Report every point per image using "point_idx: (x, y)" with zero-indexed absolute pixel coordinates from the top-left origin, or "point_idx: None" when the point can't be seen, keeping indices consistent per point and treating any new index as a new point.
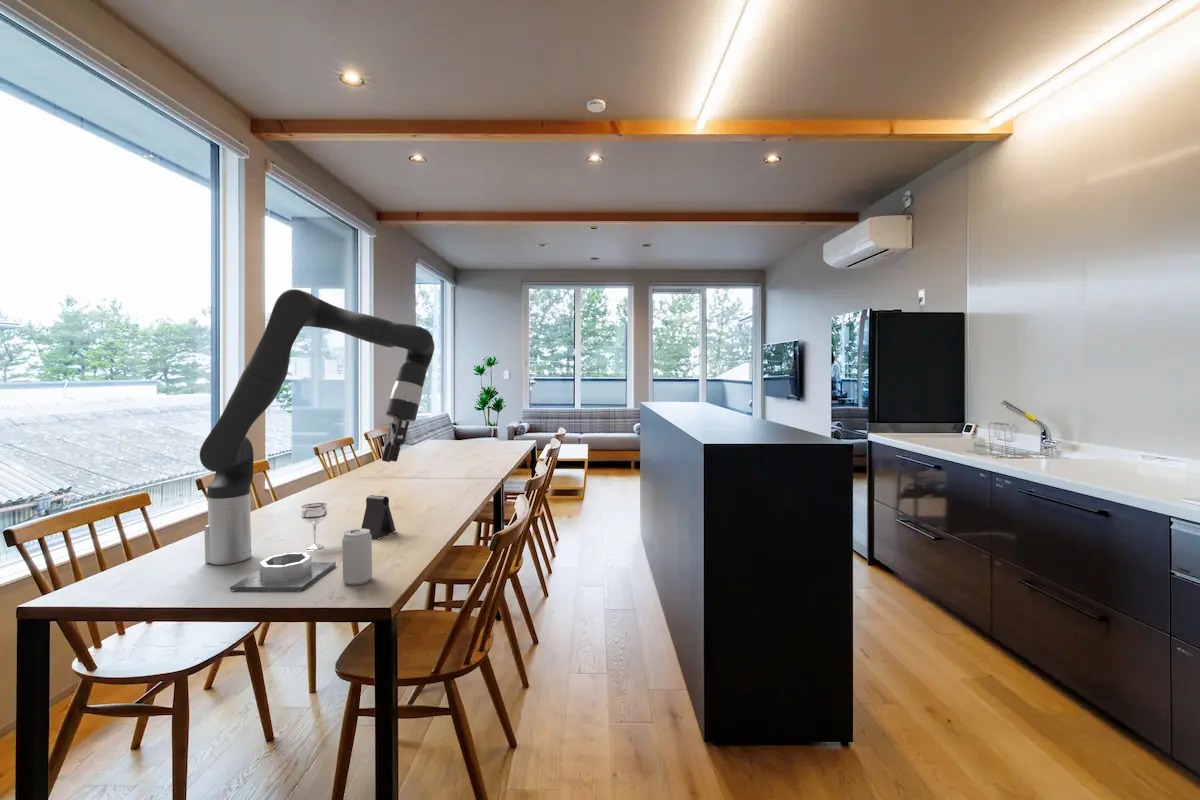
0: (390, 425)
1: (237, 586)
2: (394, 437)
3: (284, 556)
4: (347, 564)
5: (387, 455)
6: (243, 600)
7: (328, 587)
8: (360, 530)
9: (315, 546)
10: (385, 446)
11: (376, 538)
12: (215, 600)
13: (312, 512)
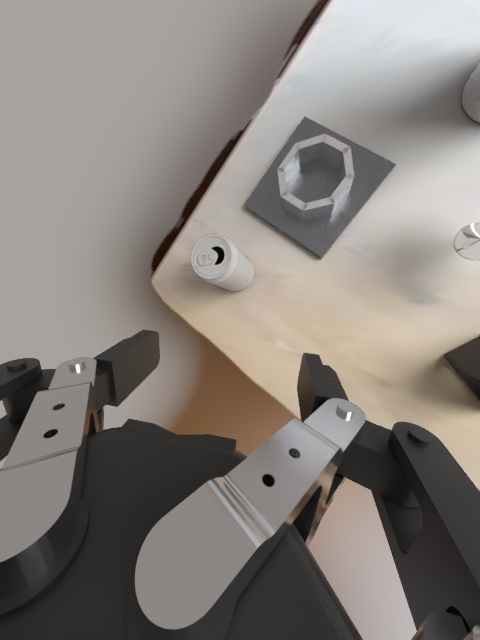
0: (137, 568)
1: (300, 126)
2: (4, 377)
3: (344, 171)
4: (217, 252)
5: (303, 385)
6: (259, 143)
7: (239, 238)
8: (218, 264)
9: (469, 240)
10: (334, 402)
11: (446, 356)
12: (280, 110)
13: None
